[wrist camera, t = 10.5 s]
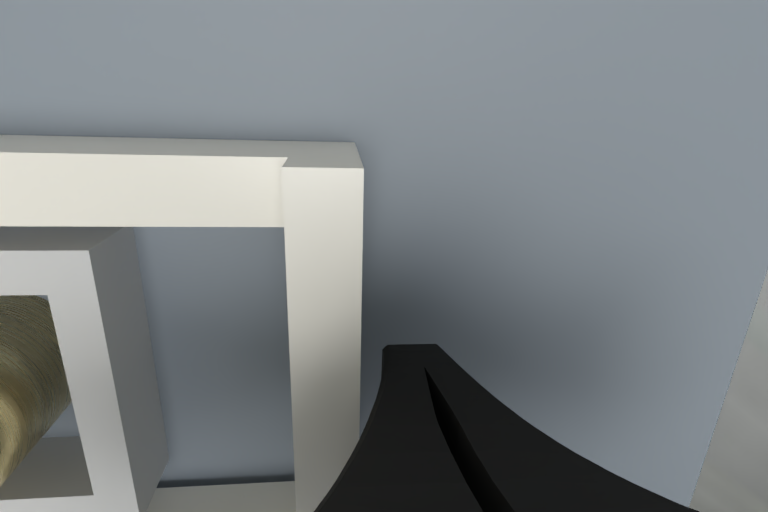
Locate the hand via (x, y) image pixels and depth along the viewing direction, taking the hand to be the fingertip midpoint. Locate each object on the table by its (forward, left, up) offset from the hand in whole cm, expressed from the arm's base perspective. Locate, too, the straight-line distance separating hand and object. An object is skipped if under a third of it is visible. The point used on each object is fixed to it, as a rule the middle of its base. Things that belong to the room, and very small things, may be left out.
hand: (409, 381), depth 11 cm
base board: (+1, +2, -3) cm, 4 cm away
